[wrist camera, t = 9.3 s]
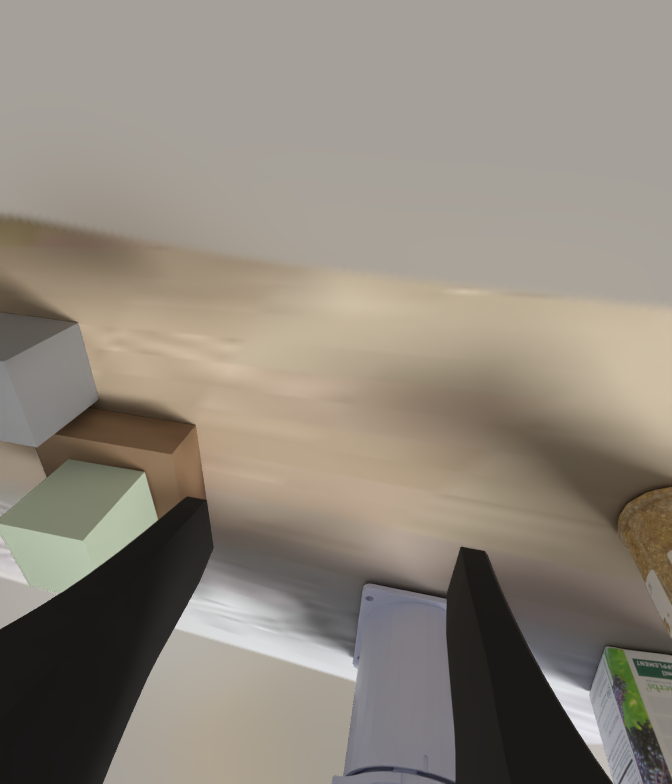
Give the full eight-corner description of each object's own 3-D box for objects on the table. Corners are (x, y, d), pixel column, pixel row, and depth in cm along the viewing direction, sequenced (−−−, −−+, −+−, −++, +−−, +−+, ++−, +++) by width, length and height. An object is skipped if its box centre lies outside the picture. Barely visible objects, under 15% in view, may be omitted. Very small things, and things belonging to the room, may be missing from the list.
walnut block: (213, 521, 28) (191, 560, 25) (101, 500, 29) (69, 535, 26) (199, 420, 24) (171, 454, 21) (69, 400, 25) (28, 429, 22)
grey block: (100, 398, 24) (37, 447, 20) (28, 386, 24) (-47, 432, 21) (79, 322, 22) (3, 361, 18) (0, 311, 22) (-89, 347, 18)
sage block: (161, 532, 24) (109, 605, 21) (92, 519, 25) (29, 586, 21) (144, 471, 22) (82, 540, 18) (68, 459, 23) (-6, 522, 19)
